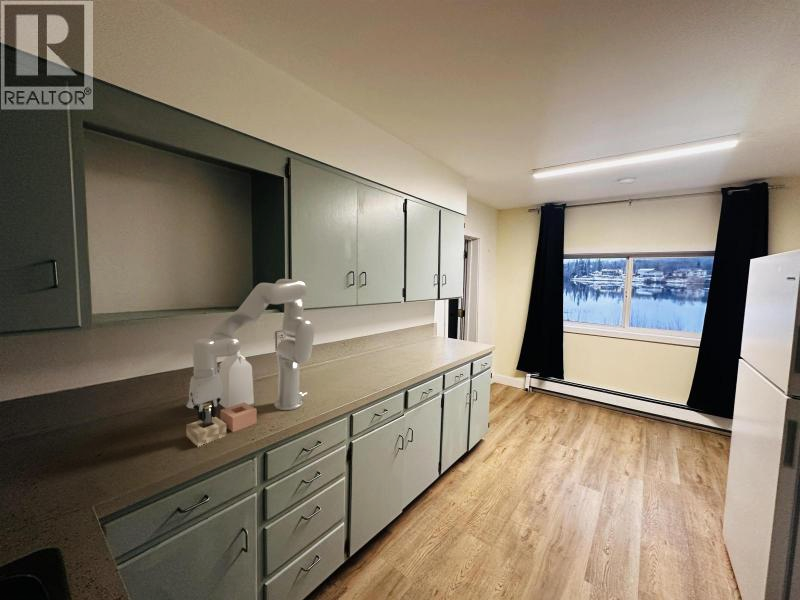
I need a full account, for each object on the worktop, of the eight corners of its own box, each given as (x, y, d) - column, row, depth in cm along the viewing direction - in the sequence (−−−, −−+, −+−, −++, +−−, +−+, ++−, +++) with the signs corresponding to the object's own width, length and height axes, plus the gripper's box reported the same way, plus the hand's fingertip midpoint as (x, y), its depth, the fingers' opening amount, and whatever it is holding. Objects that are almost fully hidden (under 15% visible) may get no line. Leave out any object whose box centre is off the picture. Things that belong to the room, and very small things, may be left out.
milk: (217, 402, 154) (216, 349, 151) (242, 395, 163) (242, 345, 160) (228, 410, 147) (228, 354, 144) (253, 403, 155) (253, 350, 152)
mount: (214, 427, 132) (214, 415, 131) (226, 436, 126) (226, 423, 125) (186, 437, 124) (186, 424, 123) (198, 447, 118) (197, 434, 117)
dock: (244, 415, 143) (244, 402, 142) (256, 422, 137) (256, 409, 136) (220, 423, 135) (220, 410, 134) (232, 432, 129) (232, 417, 128)
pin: (210, 428, 127) (209, 402, 126) (214, 431, 125) (214, 405, 124) (200, 432, 125) (199, 405, 123) (204, 435, 122) (203, 408, 121)
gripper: (223, 364, 131) (224, 407, 133) (176, 375, 118) (178, 423, 120) (232, 368, 126) (233, 413, 129) (185, 380, 113) (187, 430, 115)
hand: (207, 417), depth 124 cm, fingers closed on pin, 3 cm apart
